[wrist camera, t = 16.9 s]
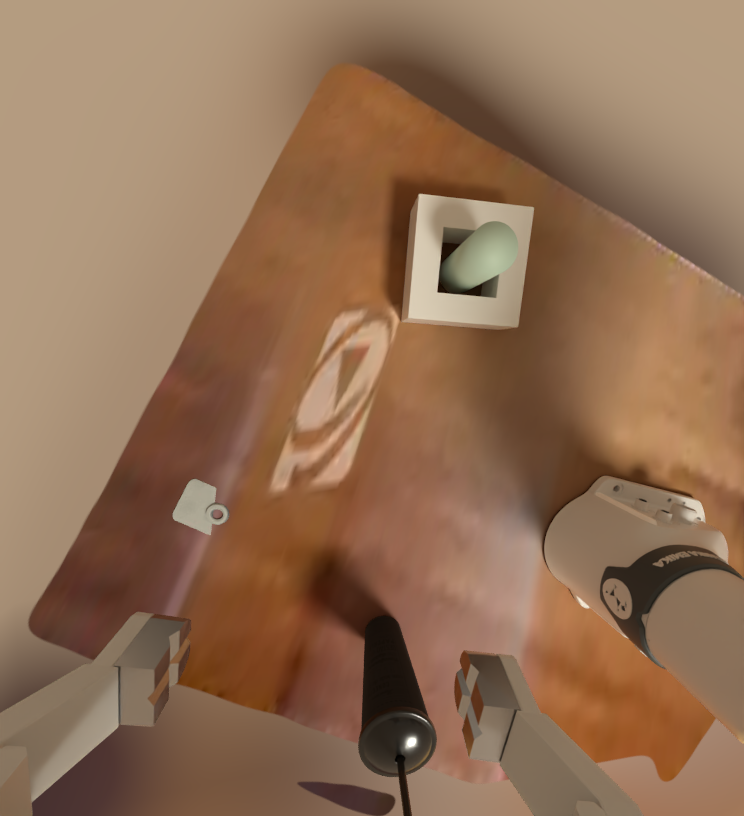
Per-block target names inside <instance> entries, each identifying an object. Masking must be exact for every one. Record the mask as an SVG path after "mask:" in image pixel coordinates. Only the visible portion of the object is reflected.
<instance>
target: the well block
mask: <svg viewBox="0 0 744 816" xmlns="http://www.w3.org/2000/svg"><path fill="white" fill-rule="evenodd" d="M533 213H534V207H528V206H519V205H511V204H502V203H494V202H486V201H477V200H469V199H460V198H452V197H443V196H435V195H426V194H419V195H418V197H417V199H416V201H415V203H414V205H413V208H412V210H411V212H410V223H409V234H408V246H407V258H406V270H405V282H404V294H403V306H402V318H401V322H409V323H421V324H433V325H445V326H457V327H469V328H481V329H493V330H503V329H510V328H516V327H518V324H519V317H520V309H521V302H522V295H523V287H524V280H525V272H526V265H527V258H528V250H529V243H530V235H531V228H532V221H533ZM491 221H499V222H502V223H505V224H507V225H508V226H509V227H510V228H511V229H512V230H513V231H514V233H515V235H516V237H517V240H518V254H517V257H516V259H515V261H514V263H513V264H512V266H511V267H510V268H509V269H507V270H506V271H504V272H502V273H500V274H499V275H497V276H495V277H493V278H491V279H489V280H487V281H485V282H483V283H482V289H481V297H480V296H470V295H459V294H448V293H437V289H438V279H439V269H440V259H441V249H442V242H444V243H454V244H462V243H463V242H464V241H465V240H466V239H467V238H468V237H469V236H470V235H471V234H472V233H473V232H475V231H476V230H477V229H478V228H479V227H480V226H481V225H483V224H485V223H487V222H491Z"/></svg>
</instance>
